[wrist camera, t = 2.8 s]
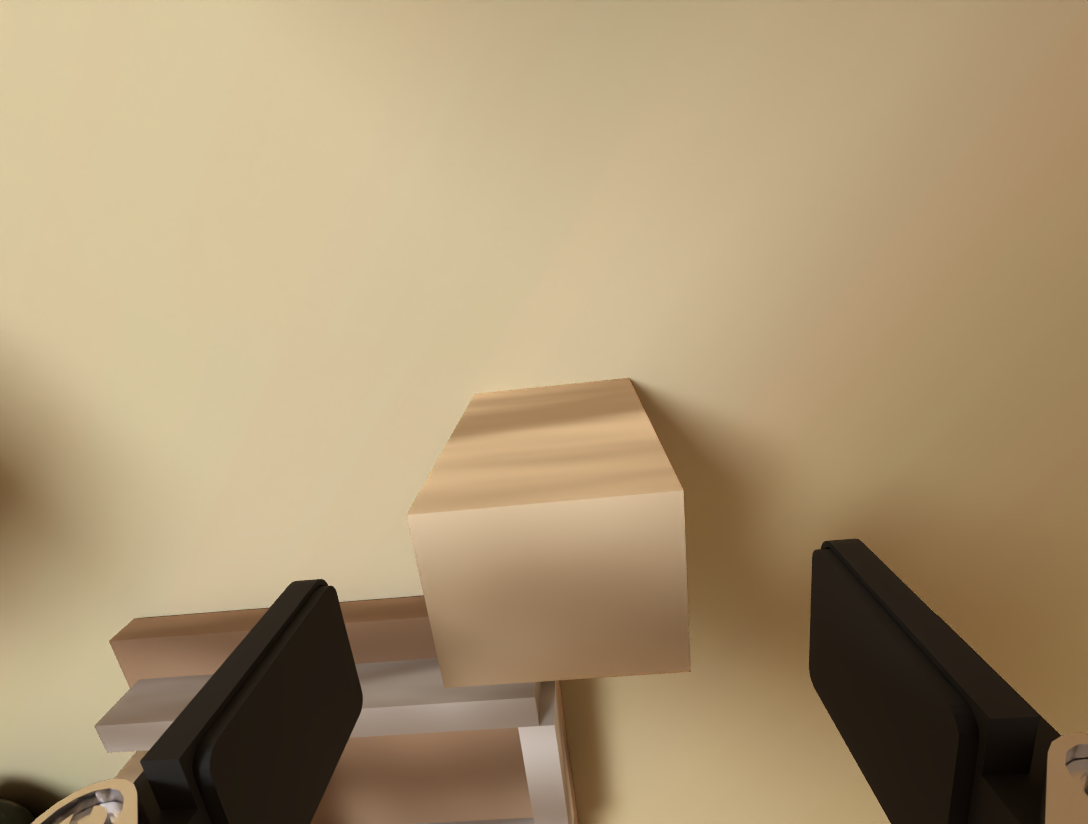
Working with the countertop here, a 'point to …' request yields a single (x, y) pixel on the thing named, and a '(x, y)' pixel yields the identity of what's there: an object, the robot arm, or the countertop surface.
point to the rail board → (373, 720)
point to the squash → (14, 813)
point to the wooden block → (553, 540)
